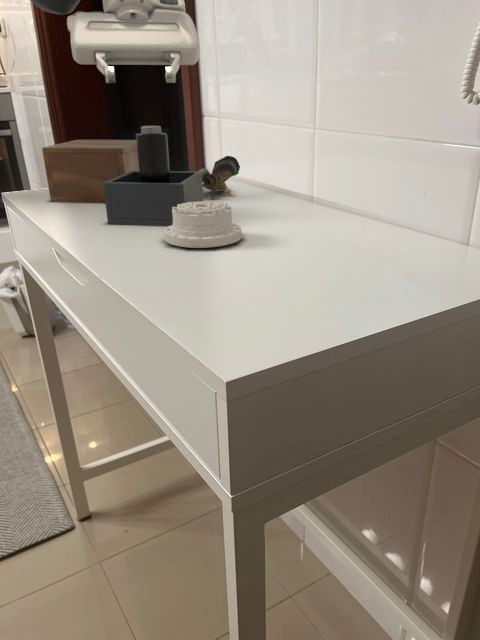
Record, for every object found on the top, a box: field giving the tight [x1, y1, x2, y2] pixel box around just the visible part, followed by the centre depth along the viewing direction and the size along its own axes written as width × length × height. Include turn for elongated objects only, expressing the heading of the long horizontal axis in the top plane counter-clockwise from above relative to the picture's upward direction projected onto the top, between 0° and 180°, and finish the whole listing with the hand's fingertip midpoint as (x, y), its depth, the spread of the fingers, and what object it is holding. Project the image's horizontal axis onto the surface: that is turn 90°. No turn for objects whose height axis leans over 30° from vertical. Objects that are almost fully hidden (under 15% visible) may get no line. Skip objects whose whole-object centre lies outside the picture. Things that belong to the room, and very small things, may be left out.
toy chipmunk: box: [197, 155, 241, 200], centre depth 99 cm, size 8×7×9 cm
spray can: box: [135, 125, 171, 183], centre depth 82 cm, size 4×4×12 cm
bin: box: [103, 170, 204, 227], centre depth 84 cm, size 12×12×6 cm
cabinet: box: [41, 139, 139, 204], centre depth 99 cm, size 14×14×9 cm
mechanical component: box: [163, 200, 242, 249], centre depth 72 cm, size 10×4×10 cm
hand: (141, 79), depth 88 cm, fingers open, 8 cm apart
